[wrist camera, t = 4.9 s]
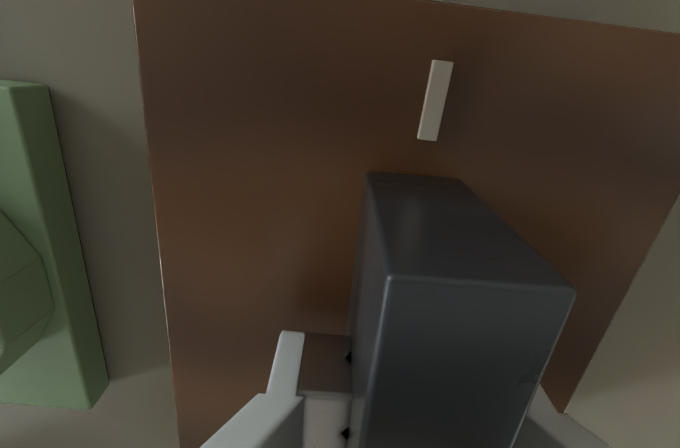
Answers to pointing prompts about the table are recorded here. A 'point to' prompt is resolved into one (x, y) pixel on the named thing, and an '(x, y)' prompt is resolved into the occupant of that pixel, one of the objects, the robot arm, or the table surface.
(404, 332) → the tap lever
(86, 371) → the button block
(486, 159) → the brown lever switch
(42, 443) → the table surface
